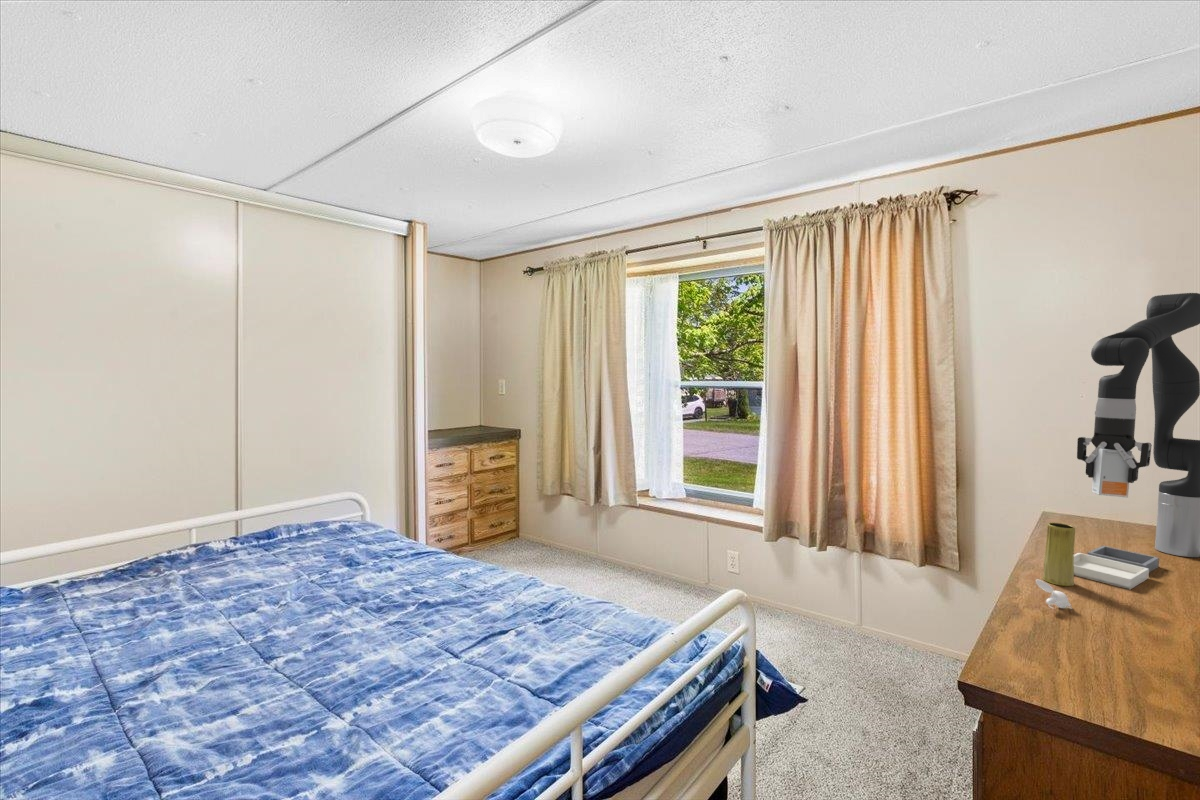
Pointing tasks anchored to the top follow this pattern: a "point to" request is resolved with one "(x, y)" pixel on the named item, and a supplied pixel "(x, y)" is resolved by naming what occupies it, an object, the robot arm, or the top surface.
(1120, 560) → the frame
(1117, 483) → the skincare box
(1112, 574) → the tray
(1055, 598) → the rabbit figurine
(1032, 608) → the top surface
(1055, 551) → the vase
